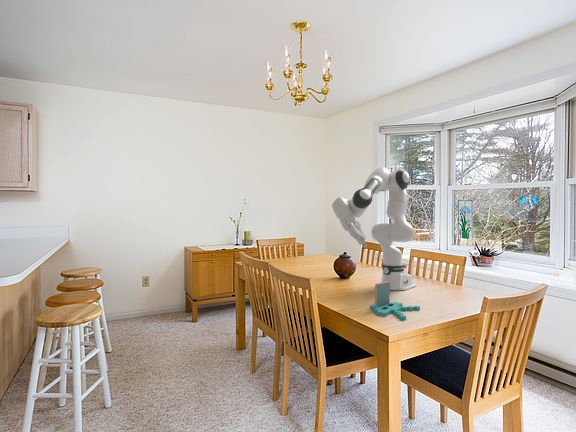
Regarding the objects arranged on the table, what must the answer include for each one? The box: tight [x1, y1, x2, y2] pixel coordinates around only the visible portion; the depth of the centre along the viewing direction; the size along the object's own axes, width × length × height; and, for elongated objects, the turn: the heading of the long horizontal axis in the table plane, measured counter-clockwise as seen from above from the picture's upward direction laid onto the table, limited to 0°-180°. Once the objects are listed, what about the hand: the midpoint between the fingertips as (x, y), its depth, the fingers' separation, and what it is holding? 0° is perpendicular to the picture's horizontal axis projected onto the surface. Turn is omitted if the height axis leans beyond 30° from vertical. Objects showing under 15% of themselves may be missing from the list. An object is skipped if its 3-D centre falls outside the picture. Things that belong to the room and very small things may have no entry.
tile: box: [374, 281, 391, 306], centre depth 178 cm, size 9×2×11 cm, turn 125°
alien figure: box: [369, 301, 421, 322], centre depth 173 cm, size 20×2×20 cm
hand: (363, 245), depth 187 cm, fingers open, 8 cm apart
